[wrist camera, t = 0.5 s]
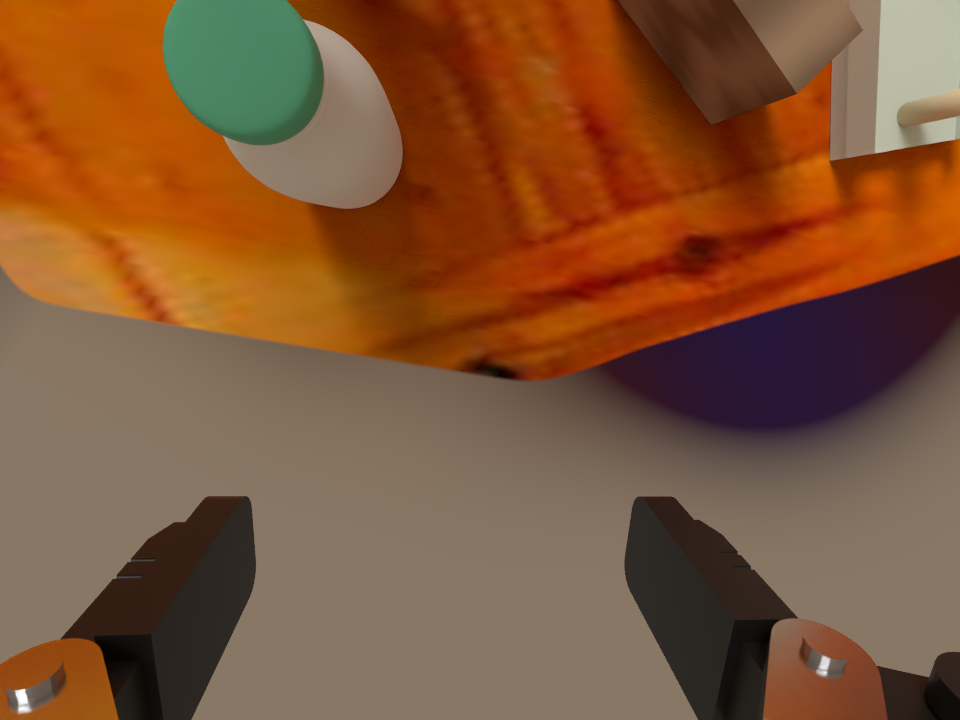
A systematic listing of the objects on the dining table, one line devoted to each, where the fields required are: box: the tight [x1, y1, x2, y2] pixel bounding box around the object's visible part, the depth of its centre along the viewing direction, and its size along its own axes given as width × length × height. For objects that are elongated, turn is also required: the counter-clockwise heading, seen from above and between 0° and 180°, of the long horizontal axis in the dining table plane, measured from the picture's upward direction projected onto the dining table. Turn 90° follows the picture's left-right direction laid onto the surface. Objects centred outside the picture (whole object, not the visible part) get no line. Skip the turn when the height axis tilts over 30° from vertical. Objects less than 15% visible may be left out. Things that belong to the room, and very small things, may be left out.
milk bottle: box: [163, 0, 403, 209], centre depth 25 cm, size 8×8×20 cm
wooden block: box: [618, 0, 863, 125], centre depth 30 cm, size 12×5×9 cm, turn 44°
